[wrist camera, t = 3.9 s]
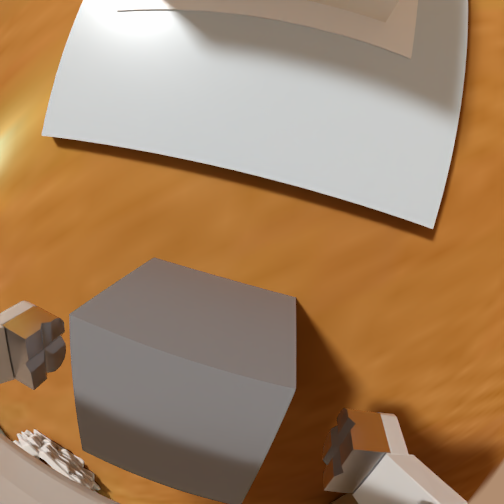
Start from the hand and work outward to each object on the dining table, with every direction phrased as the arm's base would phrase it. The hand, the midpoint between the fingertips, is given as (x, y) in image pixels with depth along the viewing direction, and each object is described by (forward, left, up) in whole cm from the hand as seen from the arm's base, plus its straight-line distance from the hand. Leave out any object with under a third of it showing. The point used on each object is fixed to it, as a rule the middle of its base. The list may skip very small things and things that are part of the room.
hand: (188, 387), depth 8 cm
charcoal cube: (-1, 0, -4) cm, 4 cm away
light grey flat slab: (+14, +1, -3) cm, 15 cm away
